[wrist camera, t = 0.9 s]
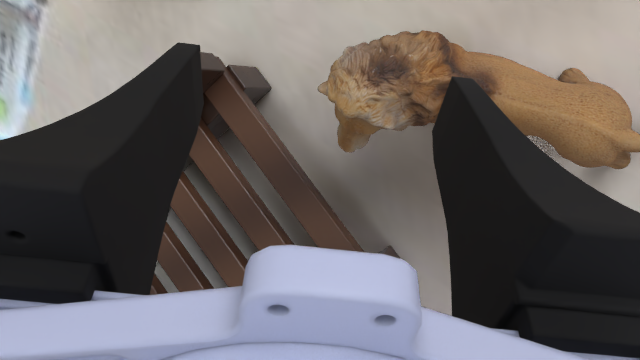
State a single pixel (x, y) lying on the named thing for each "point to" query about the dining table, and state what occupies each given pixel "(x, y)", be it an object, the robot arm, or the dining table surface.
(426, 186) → the dining table surface
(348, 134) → the lion figurine
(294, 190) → the rack
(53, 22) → the dining table surface
